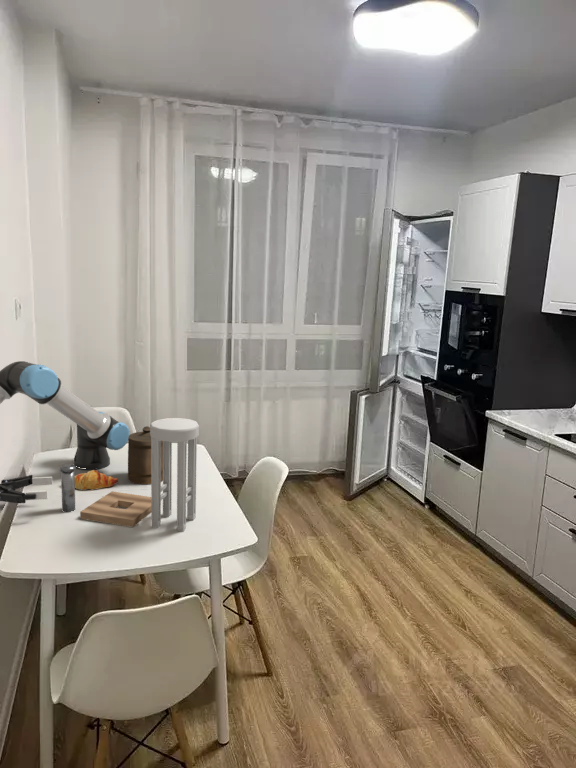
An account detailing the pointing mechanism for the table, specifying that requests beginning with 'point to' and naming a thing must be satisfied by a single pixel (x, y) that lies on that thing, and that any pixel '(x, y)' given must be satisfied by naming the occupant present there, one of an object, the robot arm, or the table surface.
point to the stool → (169, 433)
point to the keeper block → (112, 514)
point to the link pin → (68, 487)
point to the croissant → (94, 480)
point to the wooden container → (141, 457)
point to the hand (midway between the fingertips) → (49, 487)
